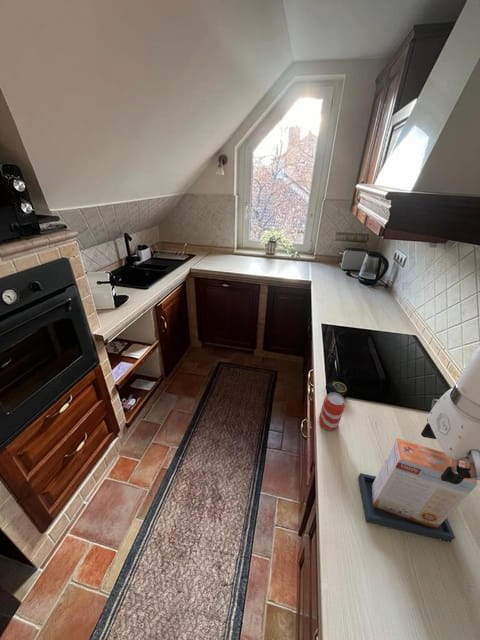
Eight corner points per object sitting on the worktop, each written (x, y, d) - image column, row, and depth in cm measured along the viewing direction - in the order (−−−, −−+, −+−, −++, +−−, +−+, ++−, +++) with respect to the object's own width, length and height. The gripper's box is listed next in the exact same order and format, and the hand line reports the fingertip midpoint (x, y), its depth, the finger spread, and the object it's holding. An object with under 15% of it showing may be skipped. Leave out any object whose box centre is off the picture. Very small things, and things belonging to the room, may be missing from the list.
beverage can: (327, 434, 83) (335, 409, 76) (314, 418, 88) (321, 394, 81) (341, 427, 85) (350, 403, 79) (328, 413, 90) (336, 388, 84)
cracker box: (429, 504, 65) (469, 458, 54) (435, 531, 60) (480, 486, 50) (370, 483, 69) (396, 436, 59) (371, 507, 64) (400, 460, 54)
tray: (430, 493, 68) (434, 488, 67) (450, 542, 59) (455, 538, 58) (357, 477, 71) (360, 472, 70) (366, 522, 62) (369, 517, 61)
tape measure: (323, 389, 99) (325, 382, 97) (337, 385, 102) (339, 378, 100) (335, 402, 94) (337, 395, 92) (349, 397, 96) (352, 390, 94)
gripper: (433, 366, 53) (404, 420, 62) (482, 441, 38) (436, 497, 47) (473, 371, 52) (439, 425, 60) (541, 451, 37) (482, 507, 46)
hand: (438, 457), depth 54 cm, fingers open, 9 cm apart
